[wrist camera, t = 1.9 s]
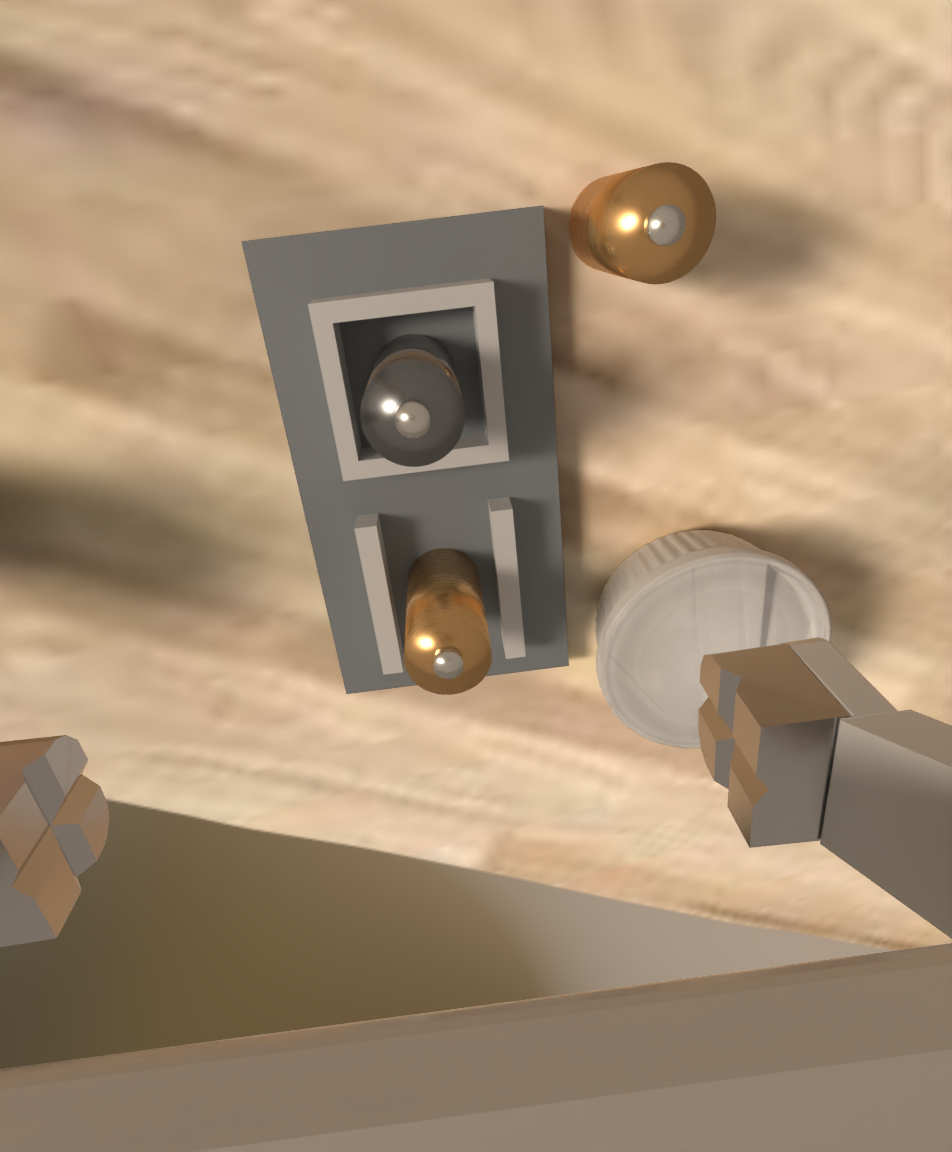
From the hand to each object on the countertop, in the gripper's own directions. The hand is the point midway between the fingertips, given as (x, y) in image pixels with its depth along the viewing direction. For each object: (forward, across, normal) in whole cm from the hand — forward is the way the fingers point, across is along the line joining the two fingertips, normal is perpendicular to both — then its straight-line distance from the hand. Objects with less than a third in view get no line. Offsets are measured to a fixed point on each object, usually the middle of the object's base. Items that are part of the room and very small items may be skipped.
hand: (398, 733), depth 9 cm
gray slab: (+25, 0, +5) cm, 26 cm away
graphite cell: (+24, 0, 0) cm, 24 cm away
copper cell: (+25, -9, -5) cm, 27 cm away
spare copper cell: (+24, 0, +10) cm, 26 cm away
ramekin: (+26, -12, +14) cm, 32 cm away
